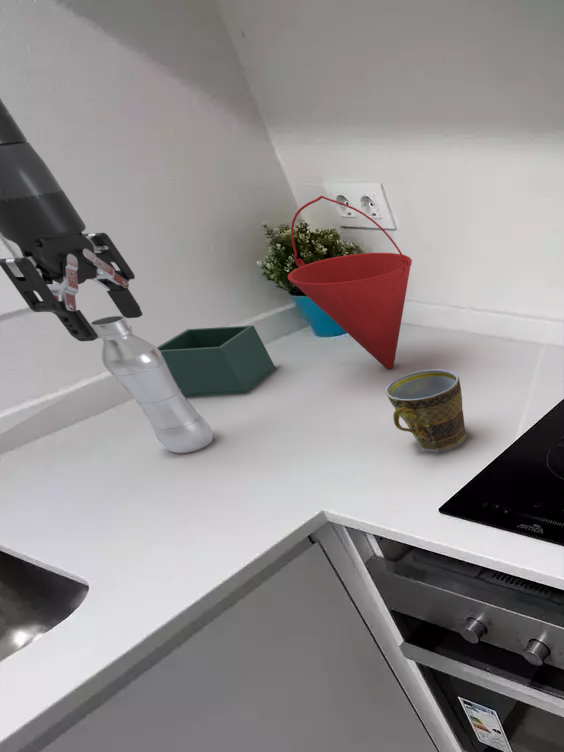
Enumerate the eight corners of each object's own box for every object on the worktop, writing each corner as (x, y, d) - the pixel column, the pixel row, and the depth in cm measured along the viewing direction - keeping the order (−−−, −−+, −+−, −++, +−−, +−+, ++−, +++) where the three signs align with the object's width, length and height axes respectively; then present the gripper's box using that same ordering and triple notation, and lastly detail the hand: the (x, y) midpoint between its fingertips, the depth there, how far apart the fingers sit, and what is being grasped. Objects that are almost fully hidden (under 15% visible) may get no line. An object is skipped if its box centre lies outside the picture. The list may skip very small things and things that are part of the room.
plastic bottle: (190, 461, 83) (98, 331, 70) (158, 455, 85) (63, 326, 72) (229, 440, 88) (149, 314, 75) (198, 434, 89) (115, 310, 77)
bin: (180, 399, 99) (148, 352, 94) (214, 374, 108) (187, 329, 102) (248, 395, 100) (220, 347, 94) (277, 370, 109) (253, 325, 103)
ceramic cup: (430, 425, 90) (410, 367, 83) (487, 429, 88) (471, 370, 82) (384, 470, 80) (356, 408, 73) (447, 475, 78) (425, 412, 72)
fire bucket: (464, 352, 113) (417, 184, 94) (415, 395, 98) (347, 206, 79) (369, 348, 116) (304, 185, 97) (307, 390, 101) (216, 207, 82)
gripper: (34, 183, 69) (120, 312, 80) (-77, 203, 58) (40, 350, 68) (97, 180, 70) (174, 309, 80) (-2, 200, 59) (103, 346, 69)
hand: (112, 328), depth 74 cm, fingers open, 8 cm apart
